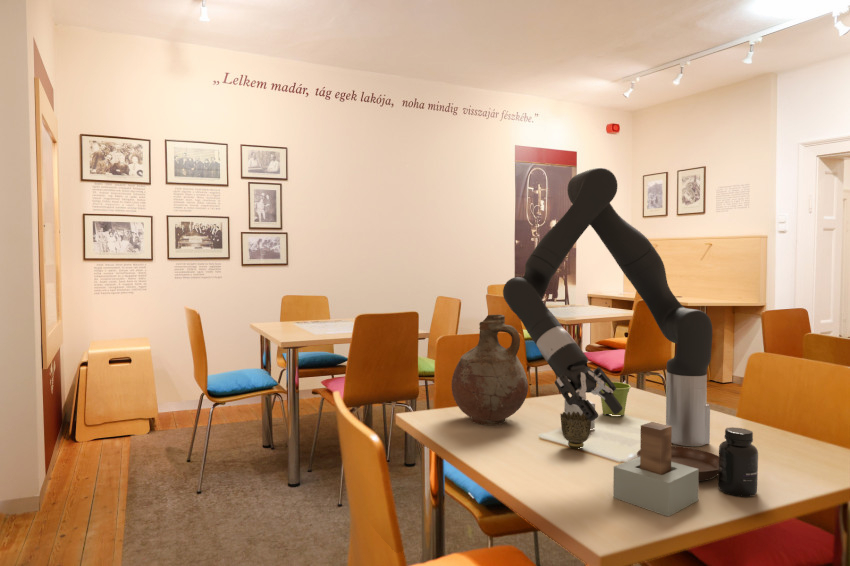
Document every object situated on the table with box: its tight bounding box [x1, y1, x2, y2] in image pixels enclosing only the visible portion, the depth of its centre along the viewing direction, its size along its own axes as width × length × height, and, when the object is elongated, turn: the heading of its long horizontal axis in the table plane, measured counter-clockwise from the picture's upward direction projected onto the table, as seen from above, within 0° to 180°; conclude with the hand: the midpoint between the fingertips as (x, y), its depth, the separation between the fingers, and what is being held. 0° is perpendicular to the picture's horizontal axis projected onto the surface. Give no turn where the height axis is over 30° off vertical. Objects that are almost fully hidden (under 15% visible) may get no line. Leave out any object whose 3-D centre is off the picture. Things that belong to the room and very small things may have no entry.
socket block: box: [612, 456, 699, 517], centre depth 113 cm, size 11×11×6 cm
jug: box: [451, 314, 529, 426], centre depth 168 cm, size 22×22×30 cm
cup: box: [559, 411, 591, 450], centre depth 144 cm, size 8×7×8 cm
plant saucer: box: [636, 445, 719, 482], centre depth 129 cm, size 18×18×3 cm
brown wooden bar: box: [639, 421, 672, 475], centre depth 112 cm, size 4×4×12 cm
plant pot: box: [596, 381, 632, 416], centre depth 175 cm, size 9×9×9 cm
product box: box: [563, 399, 596, 429], centre depth 161 cm, size 6×6×7 cm
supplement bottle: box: [717, 427, 759, 498], centre depth 116 cm, size 7×7×12 cm
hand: (607, 415), depth 121 cm, fingers open, 8 cm apart
